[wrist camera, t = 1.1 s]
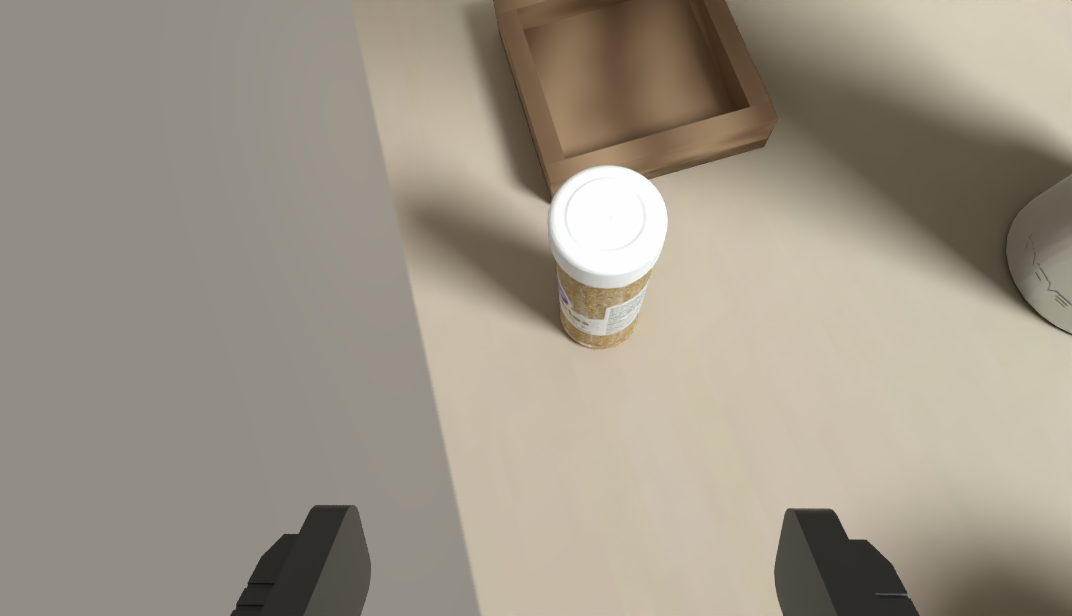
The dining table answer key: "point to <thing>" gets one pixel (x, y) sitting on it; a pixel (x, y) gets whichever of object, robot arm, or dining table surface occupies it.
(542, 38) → the tray
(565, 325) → the spice jar
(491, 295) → the dining table surface
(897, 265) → the dining table surface
